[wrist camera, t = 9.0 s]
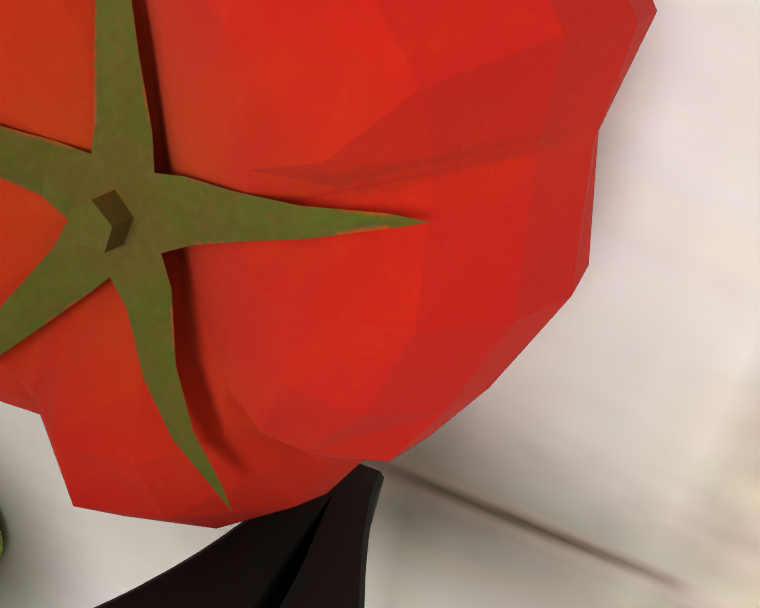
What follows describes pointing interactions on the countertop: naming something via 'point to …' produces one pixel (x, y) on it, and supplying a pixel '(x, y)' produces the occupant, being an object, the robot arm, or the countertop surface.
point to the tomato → (284, 228)
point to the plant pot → (1, 545)
